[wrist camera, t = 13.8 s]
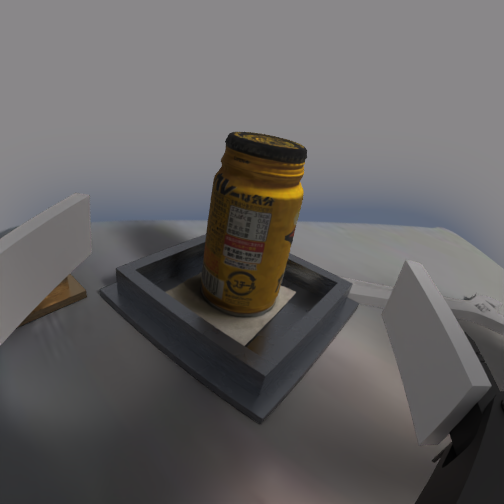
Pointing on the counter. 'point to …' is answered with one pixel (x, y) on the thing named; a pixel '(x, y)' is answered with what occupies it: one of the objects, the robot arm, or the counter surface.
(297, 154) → the condiment
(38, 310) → the small brown compartment box
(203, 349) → the large collar
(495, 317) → the adjustable wrench
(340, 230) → the counter surface
